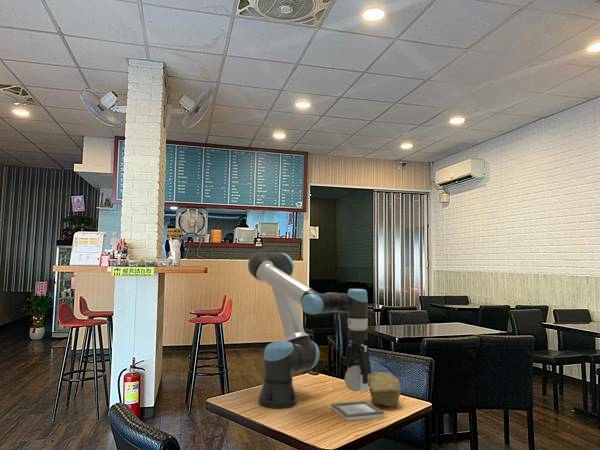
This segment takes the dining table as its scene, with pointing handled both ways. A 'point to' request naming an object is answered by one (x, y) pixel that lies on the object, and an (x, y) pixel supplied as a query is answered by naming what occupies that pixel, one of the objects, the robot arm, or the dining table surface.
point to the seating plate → (357, 410)
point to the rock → (384, 389)
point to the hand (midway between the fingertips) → (357, 388)
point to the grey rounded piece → (353, 378)
